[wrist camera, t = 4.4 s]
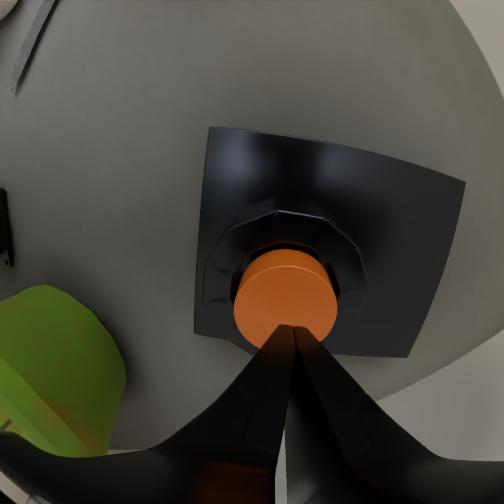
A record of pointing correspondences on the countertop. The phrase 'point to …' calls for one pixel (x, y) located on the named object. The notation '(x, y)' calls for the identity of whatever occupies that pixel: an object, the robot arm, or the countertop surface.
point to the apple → (58, 373)
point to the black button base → (325, 233)
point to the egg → (6, 7)
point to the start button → (284, 296)
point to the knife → (30, 40)
